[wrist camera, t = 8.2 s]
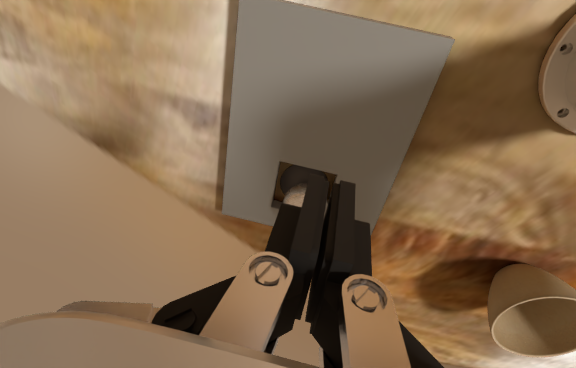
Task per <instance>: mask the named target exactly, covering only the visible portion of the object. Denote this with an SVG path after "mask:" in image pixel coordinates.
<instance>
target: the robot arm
mask: <svg viewBox="0 0 576 368" xmlns="http://www.w3.org/2000/svg"><path fill="white" fill-rule="evenodd" d="M563 45H564V46H563ZM562 46H563V48H562V49H561V50H560V48H561V47H562ZM538 92H539V96H540V101H541V104H542V106H543V108H544V109H545V111H546V113H547V114H548V115H549V116H550V117H551V118H552V119H553V120H554V121H555V122H556V123H557V124H559V125H560V126H562V127H563V128H564V129H566V130H569V131H571V132H573V133H575V134H576V14H575V15H574V16H573V17H572V18H571V19H570V20H569V21H568V22H567V24H566V25H565V26H564V27H563V28H562V29H561V31H560V32H559V33H558V34H557V36H556V37H555V39H554V41H553V42H552V44H551V45H550V47H549V48H548V51H547V53H546V55H545V58H544V60H543V62H542V65H541V70H540V74H539V78H538ZM559 110H560V111H559ZM328 188H329V181H324V176H320V175H315V174H311V173H310V176H309V180H308V184H307V188H306V192H305V196H304V200H303V203H302V207H298V206H294V205H290V204H286V203H282V204H281V206H280V209H279V212H278V215H277V218H276V221H275V223H274V226H273V229H272V232H271V235H270V238H269V241H268V244H267V247H266V250H265V252H259V253H256V254H254V255H252V256H250V257H249V258H248V259H247V260H246V262H245V263H244V265H243V266H242V268H241V270H240V271H239V273H238V274H237V275H236V276H234V277H231V278H229V279H226V280H224V281H221V282H219V283H217V284H214V285H212V286H209V287H207V288H204V289H202V290H199V291H197V292H194V293H192V294H189V295H187V296H185V297H182V298H180V299H177V300H175V301H172V302H170V303H168V304H167V305H165V306H163V307H162V308H158V307H157V308H156V307H153V304H151V303H124V302H99V301H80V302H73V303H71V304H68V305H66V306H63V307H62V308H61V309H59V310H58V311H57V312H48V313H39V314H33V315H28V316H22V317H19V318H15V319H11V320H8V321H6V322H3V323H0V368H444V367H443V366H442V365H441V364H440V363H439V362H438V361H437V360H436V359H435V358H434V357H433V356H432V355H431V354H430V353H429V352H428V351H427V349H426V348H425V347H424V346H423V345H422V344H421V343H420V342H419V341H418V340H417V339H416V338H415V337H414V336H413V335H412V334H411V333H410V332H409V331H408V330H407V329H406V328H405V327H404V326H403V325H402V324H401V323H400V322H399V321H398V317H397V313H396V310H395V306H394V302H393V298H392V296H391V294H390V291H389V290H388V289H387V287H386V286H385V285H384V284H383V283H381V282H380V281H379V280H377V279H375V278H373V277H372V264H371V235H370V224H369V223H367V222H363V221H359V220H355V188H356V184H355V183H351V182H347V181H342V180H340V183H339V184H338V183H334V184H333V187H332V191H331V195H330V198H329V202H328V206H327V210H326V213H325V208H326V201H327V195H328ZM324 214H325V217H324ZM311 280H312V281H311ZM310 283H311V288H310V294H309V300H308V306H307V312H306V319H305V321H306V322H309V323H311V327H310V334H312V335H313V336H314V338H315V339H316V341H317V342H318V343H319V345H320V348H319V367H316V366H312V365H309V364H305V363H301V362H298V361H294V360H290V359H286V358H282V357H279V356H275V355H273V353H274V350H275V348H276V345H277V343H278V338H279V337H280V336H282V335H284V334H285V333H287V332H289V331H291V330H292V328H293V324H294V320H295V319H298V320H300V319H301V315H302V311H303V308H304V305H305V301H306V298H307V294H308V290H309V287H310Z"/></svg>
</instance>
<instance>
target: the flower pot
mask: <svg viewBox="0 0 576 368" xmlns="http://www.w3.org/2000/svg"><path fill="white" fill-rule="evenodd" d="M488 320H489V326H490V331H491V335H492V338H493V339H494V341H495V342H496V343H497V344H498V345H499V346H500V347H501V348H503V349H504V350H506V351H508V352H511V353H513V354H517V355H521V356H527V357H552V356H558V355H563V354H567V353H570V352H573V351H576V290H575V289H574V288H572V287H571V286H570V285H568V284H567V283H565V282H564V281H562V280H561V279H559V278H558V277H556V276H554V275H552V274H550V273H548V272H546V271H544V270H542V269H540V268H537V267H535V266H532V265H529V264H512V265H509V266H506V267H504V268H502V269H500V270H499V271H498V272H497V273H496V274H495V276H494V278H493V280H492V283H491V286H490V290H489V295H488Z"/></svg>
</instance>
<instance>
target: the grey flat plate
mask: <svg viewBox="0 0 576 368" xmlns="http://www.w3.org/2000/svg"><path fill="white" fill-rule="evenodd" d="M454 41H455V39H453V38H452V37H450V36H445V35H440V34H436V33H431V32H427V31H422V30H417V29H413V28H408V27H404V26H399V25H395V24H390V23H385V22H381V21H376V20H372V19H367V18H362V17H358V16H353V15H349V14H344V13H339V12H335V11H330V10H326V9H321V8H317V7H312V6H307V5H303V4H298V3H294V2H289V1H284V0H239V9H238V21H237V33H236V46H235V58H234V70H233V82H232V95H231V107H230V119H229V131H228V144H227V156H226V168H225V181H224V193H223V205H222V214H225V215H229V216H233V217H237V218H241V219H245V220H249V221H253V222H257V223H261V224H265V225H269V226H274V223H275V221H276V218H277V215H278V212H279V209H280V206H281V204H282V203H283V202H279V201H275V200H273V199H274V193H275V188H276V183H277V177H278V172H279V167H280V162H281V161H282V162H286V163H290V164H294V165H293V166H290V167H289V168H287V169H286V170H285V171H284V173H283V174H282V176H281V180H280V186H281V189H282V192H283V193H284V195H286V193H287V192H288V190H289V189H290V188H292V187H293V186H295V185H297V184H300V183H308V180H309V176H310V173H311V174H315V175H320V176H324V181H328V180H327V177H326V176H325V174H324V173H323V172H322V171H324V172H328V173H332V174H336V177H335V180H334V183H338V184H339V183H340V180H342V181H347V182H351V183H355V184H356V188H355V220H359V221H363V222H367V223H369V224H370V235H371V234H372V232H373V229H374V227H375V225H376V222H377V220H378V218H379V215H380V213H381V211H382V208H383V206H384V204H385V201H386V199H387V197H388V194H389V192H390V190H391V187H392V185H393V183H394V181H395V178H396V176H397V174H398V171H399V169H400V167H401V164H402V162H403V160H404V157H405V155H406V153H407V150H408V148H409V146H410V143H411V141H412V139H413V136H414V134H415V132H416V129H417V127H418V125H419V122H420V120H421V118H422V115H423V113H424V111H425V108H426V106H427V104H428V101H429V99H430V97H431V94H432V92H433V90H434V87H435V85H436V83H437V80H438V78H439V76H440V73H441V71H442V69H443V66H444V64H445V62H446V59H447V57H448V55H449V52H450V50H451V48H452V45H453V43H454ZM331 191H332V190H331ZM330 195H331V193H330ZM329 198H330V197H329ZM328 202H329V200H328Z"/></svg>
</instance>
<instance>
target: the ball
mask: <svg viewBox="0 0 576 368" xmlns="http://www.w3.org/2000/svg"><path fill="white" fill-rule="evenodd" d="M307 184H308V183H300V184H297V185H295V186H293V187H292V188H290V189H289V190H288V192H287V193H286V195H285V197H284V199H283V203H286V204H290V205H294V206H298V207H302V203H303V200H304V196H305V192H306V188H307ZM327 206H328V202H327V201H326V208H325V213H326V210H327ZM324 217H325V214H324Z"/></svg>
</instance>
